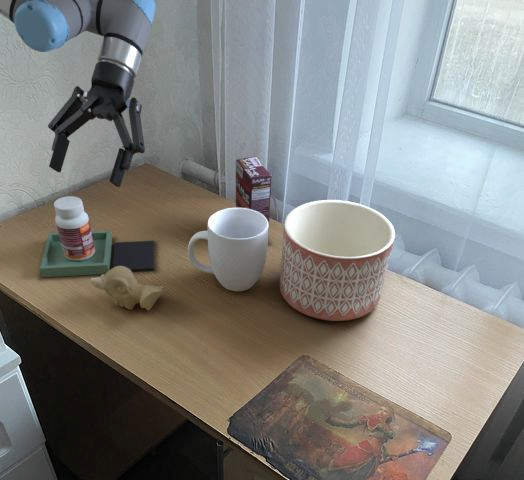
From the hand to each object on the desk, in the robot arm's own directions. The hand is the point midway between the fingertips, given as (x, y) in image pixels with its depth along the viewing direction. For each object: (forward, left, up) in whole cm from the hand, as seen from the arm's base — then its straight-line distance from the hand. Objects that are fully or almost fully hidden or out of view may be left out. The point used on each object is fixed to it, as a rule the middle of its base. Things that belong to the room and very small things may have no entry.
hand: (84, 177), depth 103 cm
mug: (+17, +27, -14) cm, 35 cm away
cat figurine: (+22, +8, -14) cm, 27 cm away
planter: (+23, +45, -15) cm, 52 cm away
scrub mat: (+7, +8, -14) cm, 18 cm away
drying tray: (+6, -3, -14) cm, 16 cm away
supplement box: (+1, +33, -14) cm, 36 cm away
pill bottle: (+5, -3, -14) cm, 15 cm away
